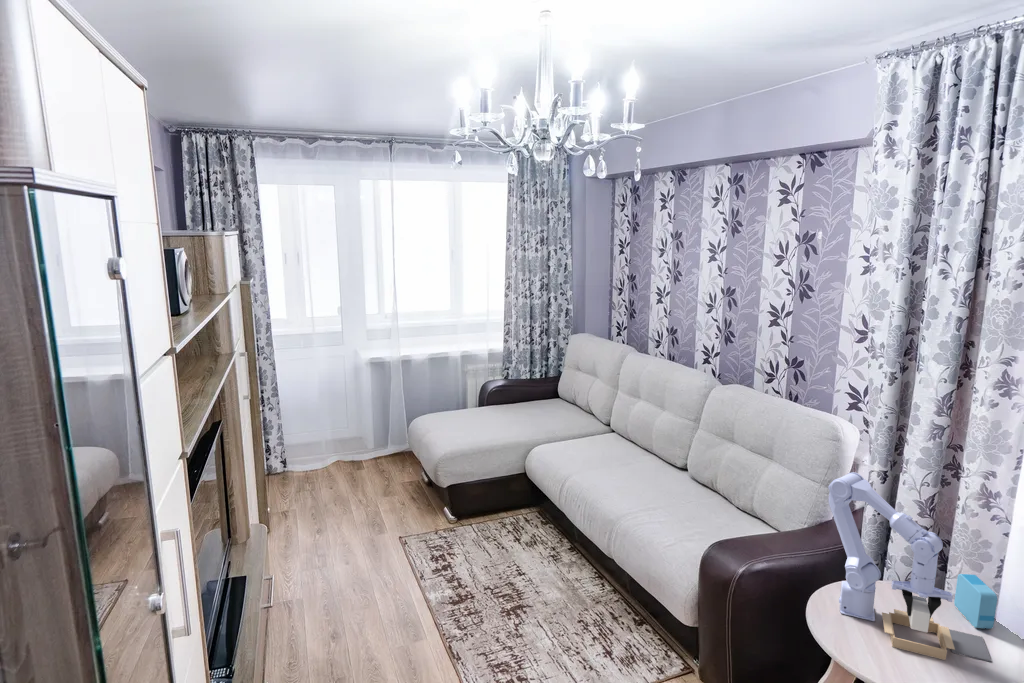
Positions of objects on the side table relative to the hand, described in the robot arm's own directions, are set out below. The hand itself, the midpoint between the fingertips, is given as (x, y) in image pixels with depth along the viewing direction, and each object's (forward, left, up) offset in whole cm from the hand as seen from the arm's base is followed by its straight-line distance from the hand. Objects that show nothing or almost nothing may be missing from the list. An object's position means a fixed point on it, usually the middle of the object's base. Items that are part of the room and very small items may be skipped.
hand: (918, 616), depth 176 cm
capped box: (0, 0, -2) cm, 2 cm away
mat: (+13, +3, -8) cm, 16 cm away
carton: (0, +1, -8) cm, 8 cm away
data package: (+17, +19, -8) cm, 27 cm away
